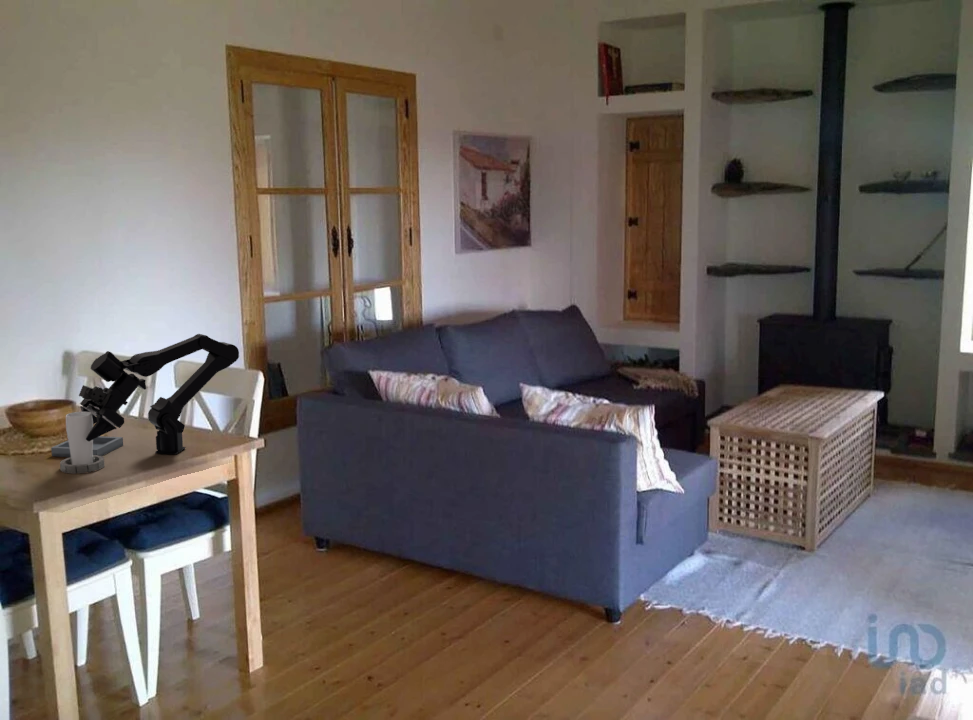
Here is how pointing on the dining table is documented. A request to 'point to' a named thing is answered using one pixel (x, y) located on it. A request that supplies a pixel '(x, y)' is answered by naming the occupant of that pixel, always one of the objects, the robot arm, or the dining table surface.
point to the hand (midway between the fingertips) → (81, 437)
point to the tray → (100, 446)
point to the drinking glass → (80, 437)
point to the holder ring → (69, 468)
